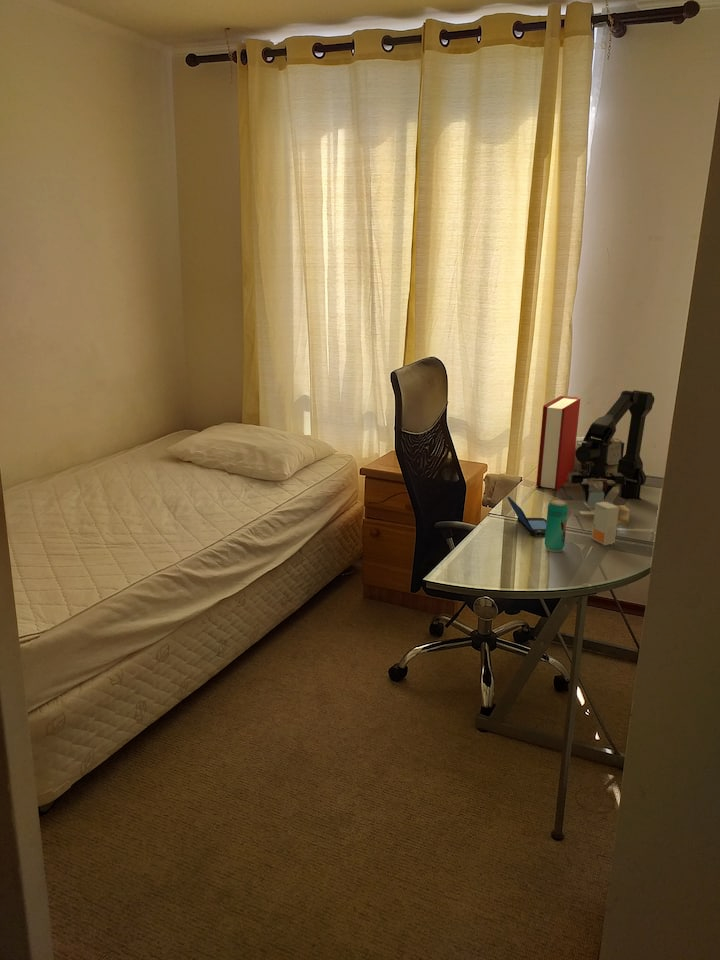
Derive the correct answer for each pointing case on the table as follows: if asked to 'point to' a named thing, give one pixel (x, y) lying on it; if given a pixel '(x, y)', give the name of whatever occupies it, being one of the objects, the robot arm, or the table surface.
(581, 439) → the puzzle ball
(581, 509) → the letter board
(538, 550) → the table surface
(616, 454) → the coffee box
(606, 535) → the skincare box
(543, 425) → the book
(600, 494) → the grey cube
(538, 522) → the handheld game console
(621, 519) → the birch block
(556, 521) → the beverage can
